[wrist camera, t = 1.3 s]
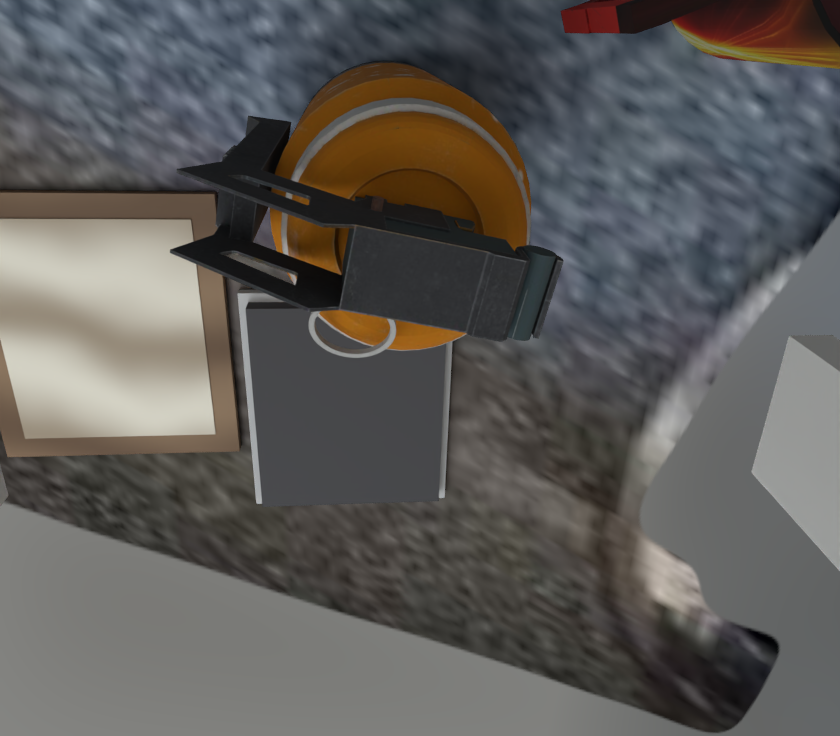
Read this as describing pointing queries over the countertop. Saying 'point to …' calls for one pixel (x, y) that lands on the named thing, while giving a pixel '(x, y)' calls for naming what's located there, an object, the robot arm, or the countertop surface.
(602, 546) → the countertop surface
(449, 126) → the canister
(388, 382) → the ink pad
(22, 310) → the box board
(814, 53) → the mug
